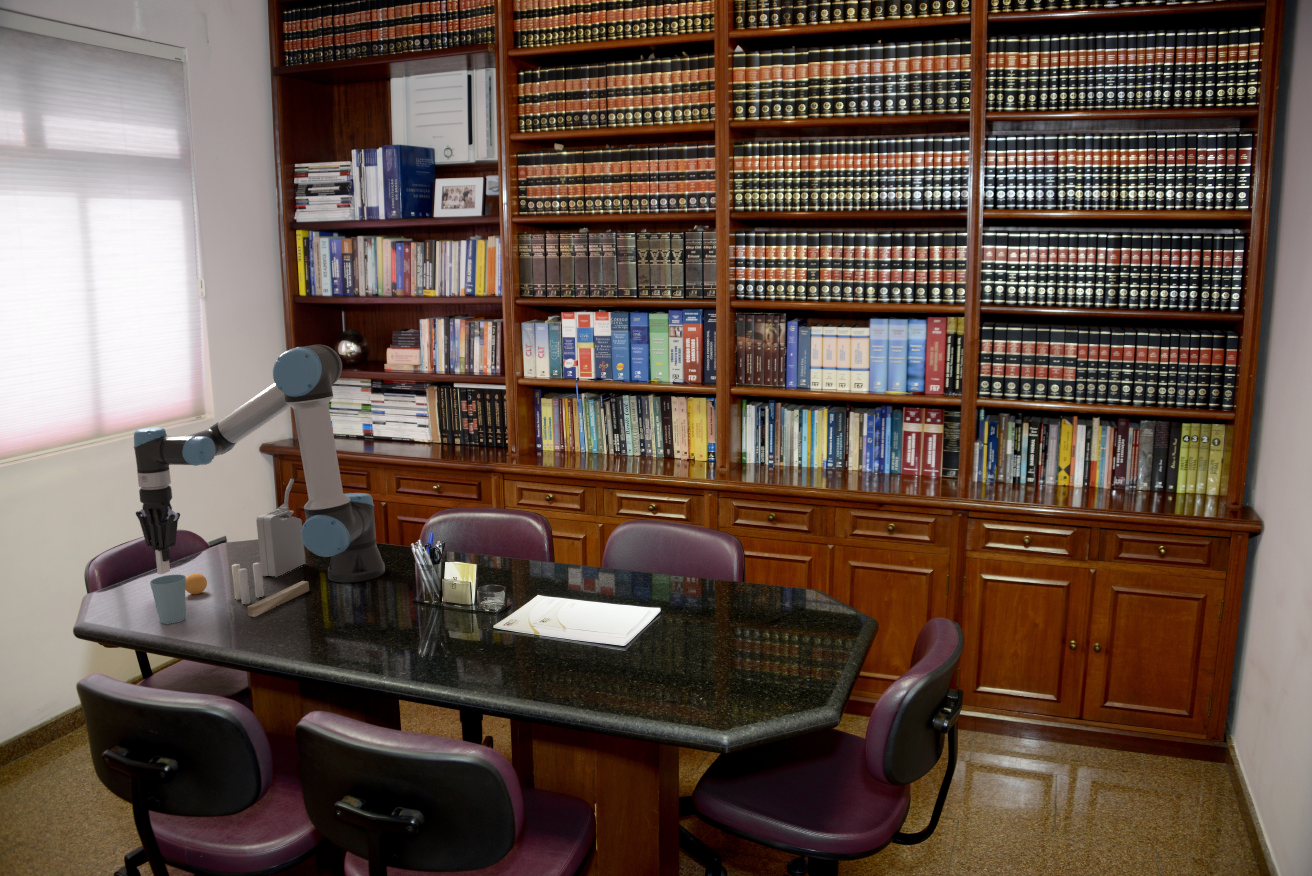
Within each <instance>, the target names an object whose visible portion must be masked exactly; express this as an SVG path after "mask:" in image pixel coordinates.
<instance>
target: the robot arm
mask: <svg viewBox="0 0 1312 876" xmlns="http://www.w3.org/2000/svg"><path fill="white" fill-rule="evenodd" d="M342 371H343V362H342V359H341V357H340V355H339V354H338V353H337V352H336V351H335V349H333V348H331V347H330V346H328V345H325V344H311V345H306V346H297V347H292V348H291V349H289V350H285V351H284V352H283V353H281V354H280V355H279V356H278V358H277V359H276V360H275V362H274V365H273V368H272V378H273V381H274V382H273V383H272V384H270V386H267V388H265V389H263V390H262V391H261V392H259V393H258V394H256V395H255V396H254V397H252V398H250V399H249V400H248V401H246V402H245V403H244V404H242V405H240V406H238V407H237V408H236V409H235V410H233V411H232V412H230V413H229V414H227V415H226V416H224V417H223V418H222V419H220V420H219V421H217V422H216V423H214V424H213V425H212V426H210V427H209V428H207V429H204V430H202V431H199V432H195V433H192V434H189V435H178V436H177V435H175V436H174V435H171V436H170V435H167V432H166V428H164V427H156V426H155V427H142V428H140V429H137V430H135V431H134V433H133V443H134V444H133V449H134V455H135V461H136V472H137V482H138V487H139V488H140V489H138V492H139V495H138V496H139V501H140V503H141V504H142V508H141V510H138V511H135V515H136V517H137V519H138V521H139V524H140V527H141V531H142V535H143V538H144V541H145V544H146V547H148V548H149V547H150V548H152V550H153V556H154V560H155V562H156V571H157V574H158V575H165V574H166V573H169V572H171V568H170V567H171V566H170V561H171V553H170V549H171V548H173V547H176V543H177V533H178V523H179V519H180V516H181V513H180V512H175V511H174V510H173V506H172V505H171V504H172V503H171V500H172V499H173V492H172V491H173V489H172V486H171V483H172V481H171V472H170V466H172V465H173V466H175V465H176V466H203V465H204V466H205V465H209V464H211V463H212V461H213V460H214V459H215V457H217V456H220V455H224V454H226V453H228V452H229V451H231V450H233V448H234V447H235V445H237V444H238V443H239V442H240V441H242V440H244V439H246V437H248V436H250V435H251V434H252V433H255V431H257V430H258V429H260V428H261V427H263V426H265V424H267V423H269V422H271V421H272V420H273V419H275V418H276V417H278V416H279V415H281V414H282V413H283V412H285V411H286V410H288V409H290V408H292V410H293V415H294V420H295V426H296V433H297V434H296V435H297V438H298V439H297V440H298V443H299V444H298V445H299V451H300V456H301V462H302V467H303V474H304V481H305V485H306V490H307V496H308V501H307V502H306V503H305V504H304V506H303V509H304V516H305V522H304V523H302V529H301V538H302V541H303V543H304V547H306V549H307V550H308V551H309V552H311V553H312V554H314V555H316V556H319V557H323V558H328V557H330V559H329V564H328V567H327V578H328V579H329V581H332V582H335V583H343V584H345V583H358V582H359V583H360V582H365V581H370V580H373V579H377V578H379V577H381V576H382V575H383V574H385V572H386V569H385V568H386V567H385V561H384V560H383V559H382V556H381V552H380V551H379V548H378V546H377V537H376V536H377V535H376V521H375V504H374V500H373V497H372V495H371V494H369V493H366V492H365V493H364V492H363V493H362V492H354V493H353V492H348V493H344V491H343V489H344V488H343V485H342V480H341V479H342V478H341V473H340V466H339V461H338V460H339V459H338V454H337V449H336V442H335V437H334V436H335V435H334V430H333V423H332V417H331V412H330V405H329V403H330V402H331V400H333V398H334V393H333V385H334V384H336V382H338V380H339V379H340V377H341V375H342Z"/></svg>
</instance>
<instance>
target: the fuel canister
mask: <svg viewBox="0 0 1312 876" xmlns="http://www.w3.org/2000/svg"><path fill="white" fill-rule="evenodd" d="M294 481H295V479H294V478H290V479H289V482H288V484H287V486H286V489H285V493H284V499H283V500H284V503H283V504H280V506H278V507H277V508H275V510H273V511H270V512H267V513H263V514H259V515H258V516H257V517H256V532H257V540H258V541H257V542H258V549H259V550H258V551H259V561H260V562H259V563H261V569H262V577H266V576H275V577H274V578H277V577H276V576H279V575H281V574H283V573H285V572H287V571H290V570H292V569H294V568H296V567H298V566H300V565H303V564H305V565H306V551H305V545H304V543H303V541H302V538H301V529H302V526H303V521H302V519H301V518H300V517H299V518H298V517H295V516H292V515H293V514H294V512H295V511H294V510H290V508H289V498H290V497H289V495H290V492H291V490H292V486H293V484H294ZM290 572H291V571H290Z"/></svg>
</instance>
